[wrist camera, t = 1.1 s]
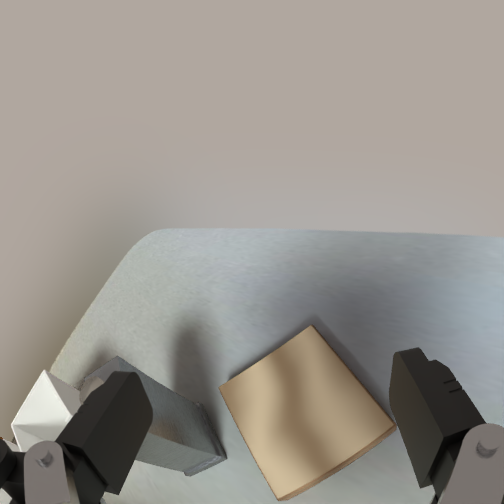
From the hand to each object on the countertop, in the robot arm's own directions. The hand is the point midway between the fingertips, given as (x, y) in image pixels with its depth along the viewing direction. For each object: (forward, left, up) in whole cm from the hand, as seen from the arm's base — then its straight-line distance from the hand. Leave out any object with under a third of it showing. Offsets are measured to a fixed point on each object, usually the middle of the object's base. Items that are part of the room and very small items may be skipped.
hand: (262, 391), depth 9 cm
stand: (+1, -6, -22) cm, 23 cm away
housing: (+13, -10, -22) cm, 28 cm away
